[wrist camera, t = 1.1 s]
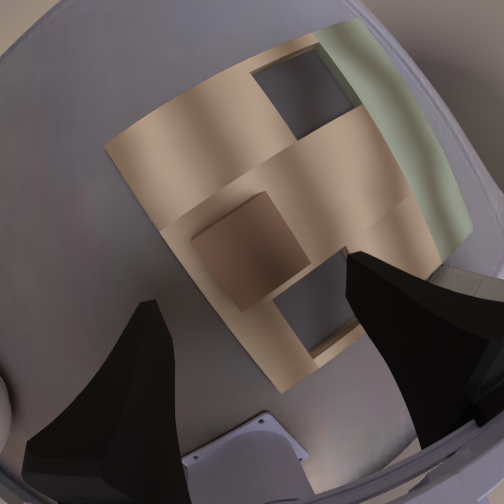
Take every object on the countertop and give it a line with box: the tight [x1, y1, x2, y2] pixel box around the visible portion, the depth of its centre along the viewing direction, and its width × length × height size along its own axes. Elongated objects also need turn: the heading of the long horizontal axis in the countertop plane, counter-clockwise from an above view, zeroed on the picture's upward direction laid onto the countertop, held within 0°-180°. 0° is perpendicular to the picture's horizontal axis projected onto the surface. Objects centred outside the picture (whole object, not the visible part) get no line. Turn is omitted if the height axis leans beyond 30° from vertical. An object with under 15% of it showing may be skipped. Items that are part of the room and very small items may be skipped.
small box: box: [429, 264, 504, 302], centre depth 20 cm, size 8×6×13 cm
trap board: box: [104, 18, 474, 394], centre depth 22 cm, size 23×22×2 cm
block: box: [191, 191, 311, 313], centre depth 19 cm, size 5×5×3 cm
